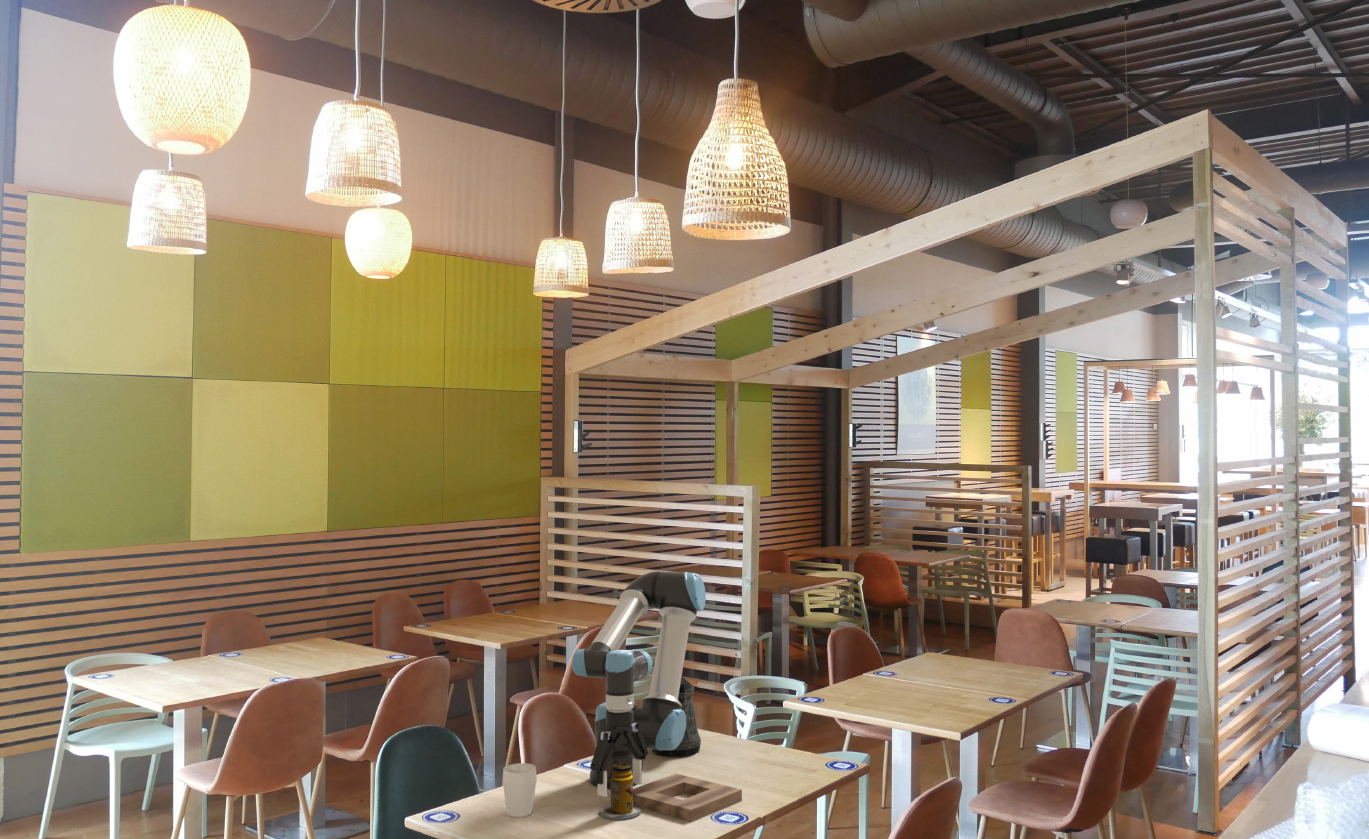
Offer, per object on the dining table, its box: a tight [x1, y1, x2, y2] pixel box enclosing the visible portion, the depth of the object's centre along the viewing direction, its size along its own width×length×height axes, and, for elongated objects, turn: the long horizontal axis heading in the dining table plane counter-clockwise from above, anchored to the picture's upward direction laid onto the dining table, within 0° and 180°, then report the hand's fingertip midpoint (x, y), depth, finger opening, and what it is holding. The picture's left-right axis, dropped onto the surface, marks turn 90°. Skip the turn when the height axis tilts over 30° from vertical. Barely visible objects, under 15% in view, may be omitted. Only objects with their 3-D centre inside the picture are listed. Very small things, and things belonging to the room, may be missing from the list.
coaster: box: [598, 804, 642, 821], centre depth 274 cm, size 11×11×1 cm
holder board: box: [633, 773, 743, 822], centre depth 283 cm, size 24×22×3 cm
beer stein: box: [651, 674, 702, 758], centre depth 335 cm, size 16×19×25 cm
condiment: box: [598, 763, 639, 818], centre depth 274 cm, size 7×8×12 cm
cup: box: [502, 762, 538, 818], centre depth 275 cm, size 9×9×12 cm
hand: (620, 789), depth 274 cm, fingers open, 13 cm apart
